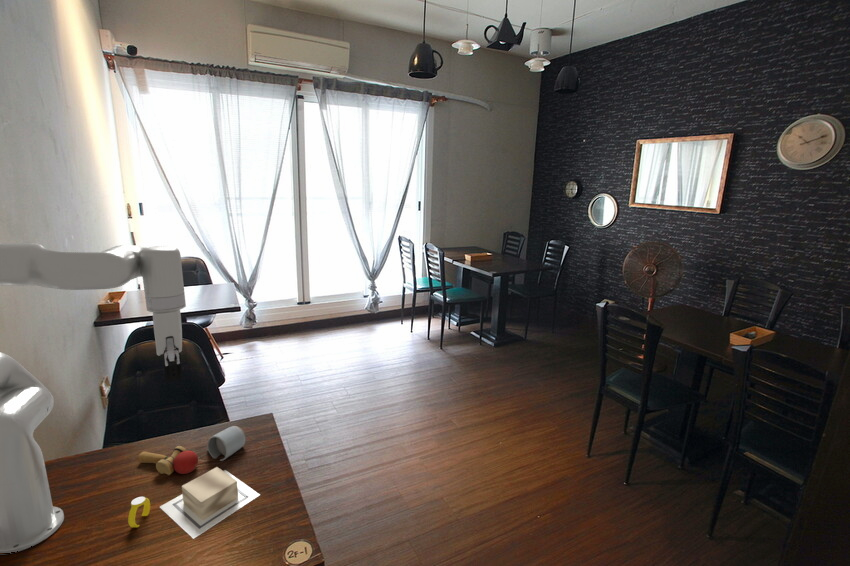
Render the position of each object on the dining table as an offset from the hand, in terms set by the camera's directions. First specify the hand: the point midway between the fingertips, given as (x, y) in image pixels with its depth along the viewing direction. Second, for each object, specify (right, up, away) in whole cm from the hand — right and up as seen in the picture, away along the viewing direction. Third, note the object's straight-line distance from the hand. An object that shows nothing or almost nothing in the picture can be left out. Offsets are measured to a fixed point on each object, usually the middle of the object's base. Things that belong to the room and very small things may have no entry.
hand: (174, 371), depth 96 cm
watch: (-8, -36, +1) cm, 37 cm away
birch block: (+5, -34, +7) cm, 35 cm away
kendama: (-13, -31, +19) cm, 39 cm away
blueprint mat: (+5, -34, +7) cm, 36 cm away
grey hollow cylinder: (-1, -30, +27) cm, 40 cm away
